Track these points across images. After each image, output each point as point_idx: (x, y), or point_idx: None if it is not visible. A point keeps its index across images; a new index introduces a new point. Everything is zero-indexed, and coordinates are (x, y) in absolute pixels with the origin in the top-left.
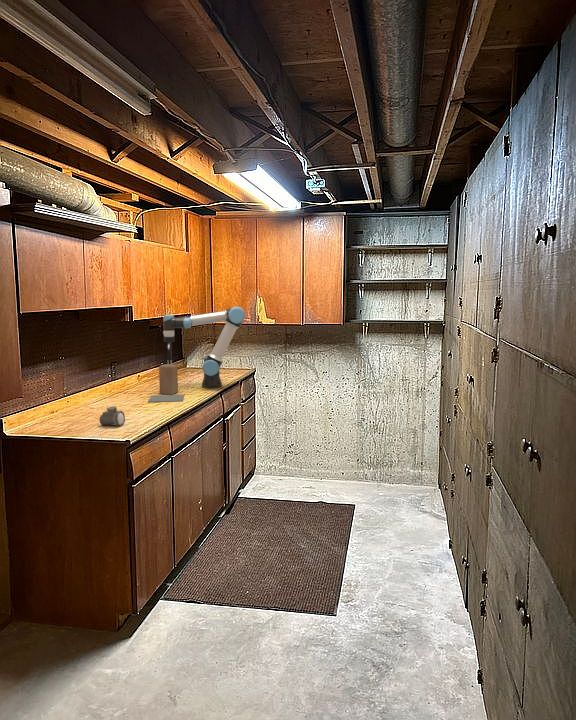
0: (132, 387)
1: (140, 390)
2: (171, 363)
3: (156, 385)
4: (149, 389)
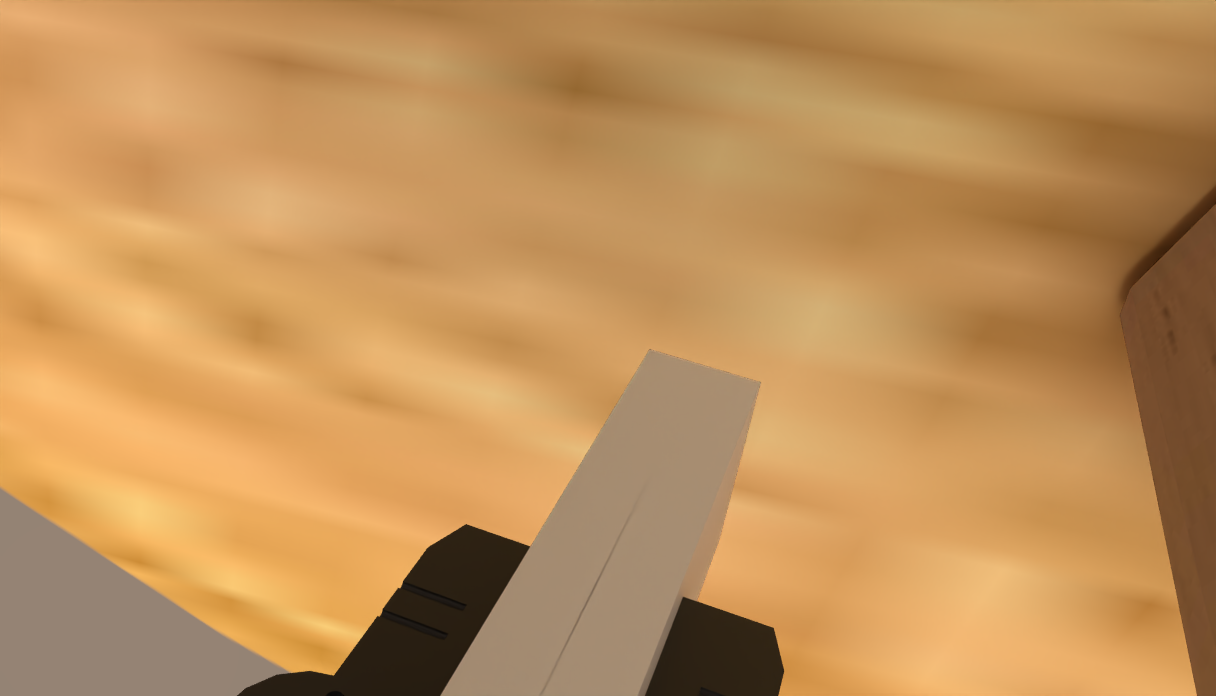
0: (323, 663)
1: None
2: (679, 600)
3: (149, 284)
4: None
